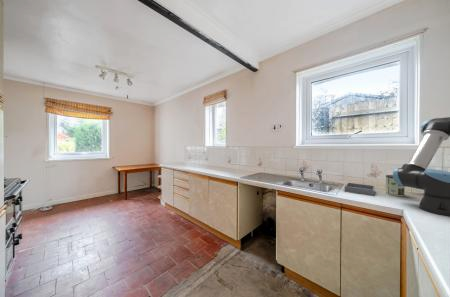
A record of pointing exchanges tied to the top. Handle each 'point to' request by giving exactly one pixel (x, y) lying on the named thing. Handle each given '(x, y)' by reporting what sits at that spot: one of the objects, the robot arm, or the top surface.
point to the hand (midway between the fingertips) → (412, 181)
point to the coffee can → (393, 187)
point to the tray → (360, 188)
